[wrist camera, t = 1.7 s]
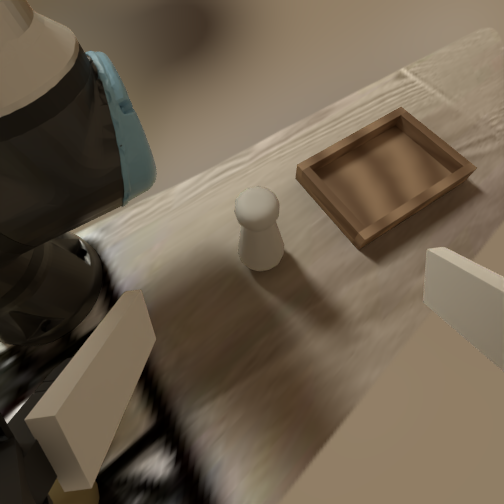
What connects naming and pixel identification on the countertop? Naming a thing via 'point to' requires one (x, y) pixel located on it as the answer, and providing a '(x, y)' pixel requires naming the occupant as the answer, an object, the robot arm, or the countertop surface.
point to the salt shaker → (259, 229)
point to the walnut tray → (382, 175)
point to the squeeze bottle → (74, 495)
